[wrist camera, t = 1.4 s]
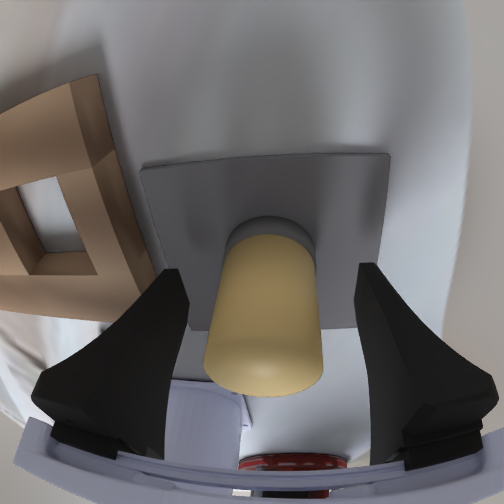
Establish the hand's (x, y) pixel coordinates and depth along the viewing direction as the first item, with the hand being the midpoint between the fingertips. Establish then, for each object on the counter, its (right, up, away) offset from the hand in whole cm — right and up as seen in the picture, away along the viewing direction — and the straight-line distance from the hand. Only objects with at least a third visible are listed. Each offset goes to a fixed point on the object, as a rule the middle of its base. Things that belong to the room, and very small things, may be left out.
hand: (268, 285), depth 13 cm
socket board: (-15, +3, +2) cm, 15 cm away
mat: (0, +1, +2) cm, 2 cm away
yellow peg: (0, +1, +2) cm, 2 cm away
